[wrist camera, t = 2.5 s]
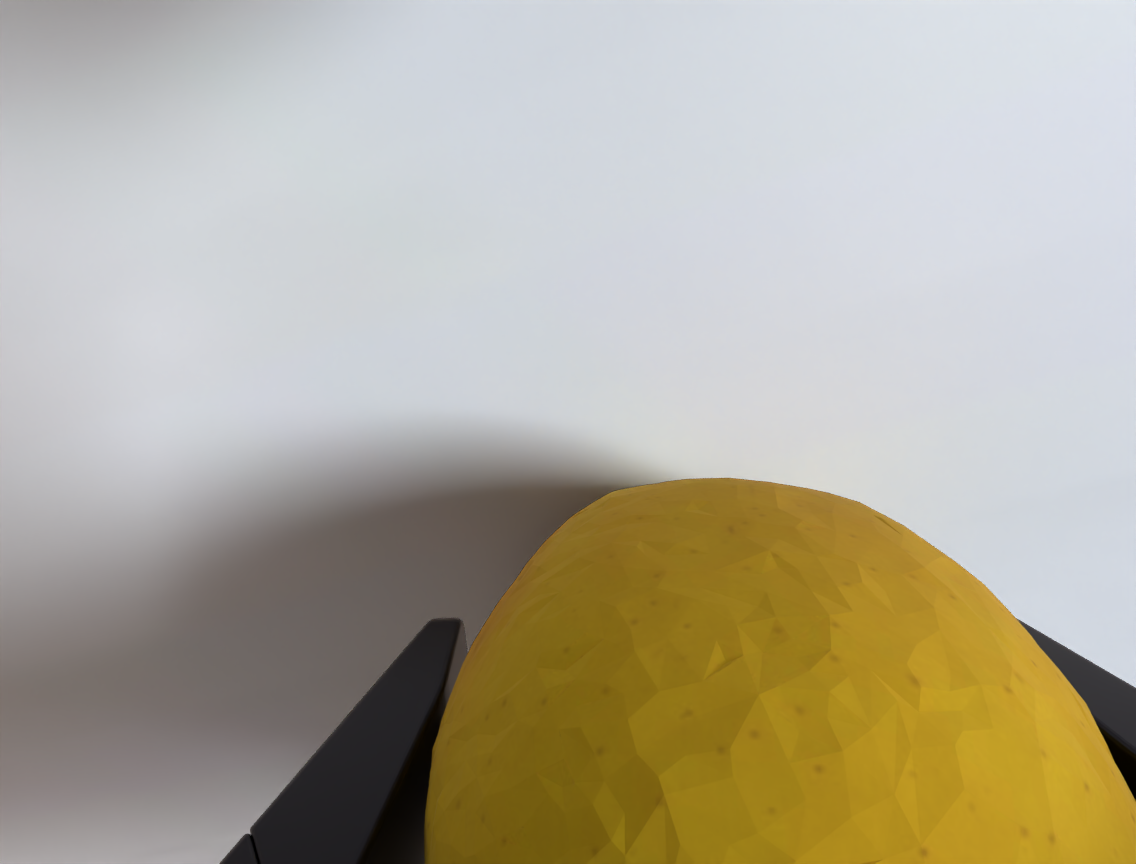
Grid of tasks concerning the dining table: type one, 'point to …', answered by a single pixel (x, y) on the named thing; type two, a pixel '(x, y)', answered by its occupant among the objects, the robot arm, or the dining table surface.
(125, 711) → the dining table surface
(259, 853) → the robot arm
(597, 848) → the apple
